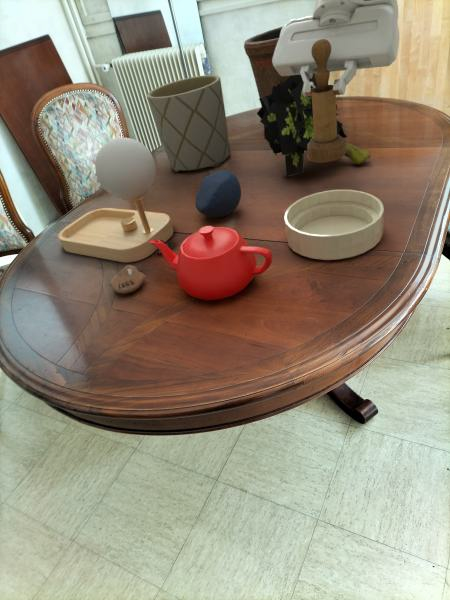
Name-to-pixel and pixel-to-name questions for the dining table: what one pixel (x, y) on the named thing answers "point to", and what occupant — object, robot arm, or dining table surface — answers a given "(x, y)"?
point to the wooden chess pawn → (324, 111)
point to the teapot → (214, 262)
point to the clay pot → (264, 61)
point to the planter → (191, 122)
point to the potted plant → (295, 124)
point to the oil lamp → (127, 280)
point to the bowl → (334, 224)
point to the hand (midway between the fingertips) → (322, 94)
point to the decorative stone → (218, 194)
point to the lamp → (119, 222)
